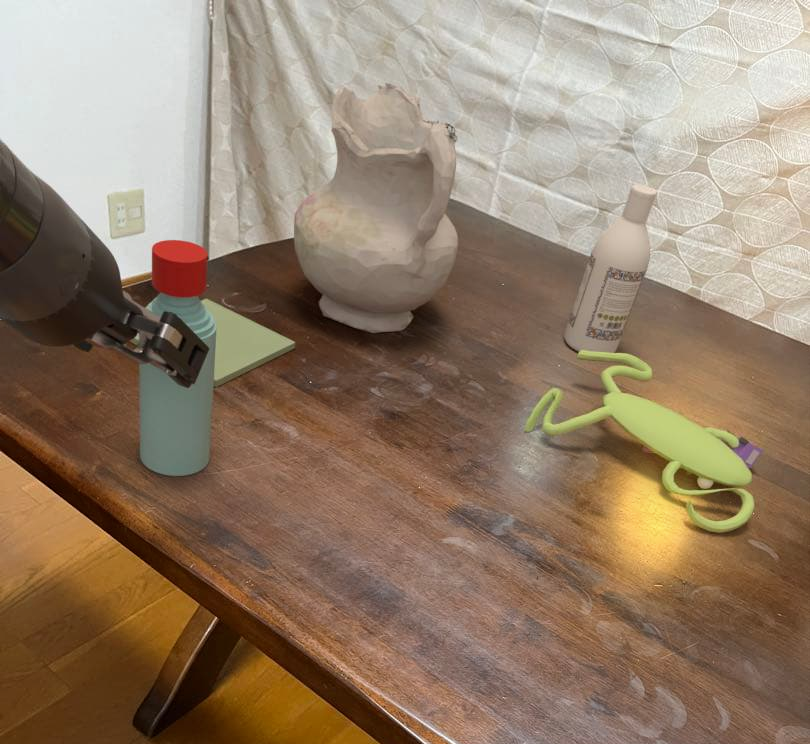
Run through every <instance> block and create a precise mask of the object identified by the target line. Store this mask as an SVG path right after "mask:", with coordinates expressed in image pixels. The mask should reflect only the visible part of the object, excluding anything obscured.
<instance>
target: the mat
mask: <svg viewBox="0 0 810 744" xmlns="http://www.w3.org/2000/svg"><path fill="white" fill-rule="evenodd" d="M200 301H201V302H202V303H203V304H204V306H205V307H206V308H207V309H208V310H209V312H210V313H211V314H212V315H213V317H214V321H215V322H216V325H217V330H216V348H215V367H214V385H213V388H218V387H219V386H221V385H223V384H226V383H227V382H230V381H232V380H234V379H236V378H238V377H240V376H241V375H244V374H246V373H248V372H250V371H252V370H254V369H256V368H258V367H260V366H262V365H264V364H266V363H268V362H270V361H273V360H274V359H277V358H279V357H280V356H282V355H284V354H287V353H288V352H291V351H292V350H294V349H296V341H294V340H292V339H291V338H288V337H286V336H284V335H282V334H280V333H278V332H276V331H274V330H272V329H270V328H267V327H265V326H264V325H261V324H260V323H257V322H255V321H254V320H251V319H249V318H247V317H245V316H242V315H241V314H239V313H238V312H235V311H233V310H231V309H229V308H227V307H225V306H223V305H220V304H219V303H216V302H215V301H213V300H211V299H208V298H204V299H202V300H200ZM138 341H139V333H137V336H136V337H135V338H134V339H132V340H130V341H129V342H128V343H131V344H133V345H135V346H137V344H138Z"/></svg>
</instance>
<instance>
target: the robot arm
mask: <svg viewBox="0 0 810 744" xmlns="http://www.w3.org/2000/svg"><path fill="white" fill-rule="evenodd" d="M122 284H123V283H122V277H121V272H120V268H119V265H118V262H117V260H116V258H115V255H114V254H113V253H112V252H111V250H110V248H109V247H108V246H107V245H106V244H105V243H104V242H103V241H102V239H100V238H99V236H98V235H97V234H96V232H94V231H93V230H92V229H91V228H90V227H89V226H88V225H87V224H86V222H85V221H84V220H83V219H82V218H81V217H80V216H79V215H78V214H77V213H76V211H75V210H74V209H73V208H72V207H71V206H70V205H69V204H68V203H67V201H66V200H65V199H64V198H63V197H62V196H61V195H60V194H59V193H58V192H57V191H56V190H55V189H54V188H53V187H52V186H51V185H49V184H48V183H47V182H46V181H45V180H44V179H42V178H41V177H40V176H38V175H37V174H36V173H34V172H33V171H32V170H31V169H29V168H28V167H27V166H26V164H25V163H23V161H22V160H21V159H20V158H19V156H17V154H15V152H13V150H11V148H10V147H9V146H8V145H7V144H6V143H5V142H4V141H3V140H2V138H1V137H0V320H1V321H2V322H4V323H5V324H7V325H8V326H9V327H11V328H12V329H14V330H15V331H16V332H18V333H19V334H21V335H22V336H24V338H27V339H28V340H30V341H32V342H34V343H36V344H39V345H43V346H48V347H67V346H74V347H75V348H76V349H78V350H80V351H83V352H86V353H89V352H91V351H92V348H93V346H94V347H96V348H101V349H107V350H109V351H111V352H112V353H114V354H117V355H119V356H120V357H122V358H124V359H126V360H128V361H130V362H131V363H133V364H137V365H139V364H148V363H150V364H152V365H153V366H155V367H157V368H159V369H161V370H163V371H164V373H166V374H167V375H168V376H169V377H170V378H172V379H173V380H174V381H175V382H176V383H177V384H178V385H180V386H183V387H186V388H189V387H190V386H191V384H194V385H195V382H196V380H197V377H198V375H199V373H200V370H201V368H202V365H203V363H204V361H205V358H206V356H207V354H208V351H209V349H210V348H209V347H208V346H207V345H206V344H205V343H204V342H203V341H202V340H201V339H200V338H199V337H198V336H197V335H196V334H195V333H194V332H193V331H192V330H191V329H190V328H189V327H188V326H187V325H186V324H185V323H184V322H183V321H182V320H181V319H180V318H179V317H178V316H177V315H176V314H174V313H172V312H166V311H164V312H163V314H162V316H161V317H159V316H158V315H156V314H154V313H153V312H151V311H149V310H148V309H146V308H145V306H143V305H141V304H140V303H138V302H136V301H134V300H133V298H132V296H131V294H130V293H128V292H127V291H125V290H124V289H123V285H122ZM137 333H139V334H141V337H140V339H139V341H138V344H137V345H135V347H134V349H131V348H130V347H128V346H126V344H127V343H130V342H129V341H130V340H132V339H134V338H135V337H136V336H137ZM155 354H157V355H159V356H160V357H161V358H162V359H161V358H159V357H158V356H156V355H155Z"/></svg>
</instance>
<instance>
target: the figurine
mask: <svg viewBox="0 0 810 744" xmlns="http://www.w3.org/2000/svg"><path fill="white" fill-rule="evenodd" d="M575 358H576V360H582V361H590V362H606V363H620V364H624V365H611V366H609V367H606V368H605V369H604V370H603V371H602V372H601V373H600V382H601V384H602V386H603V387H604V389H605V391H606V393H607V394H603V396H602V406H601V407H599V408H597V409H595V410H592V411H590V412H588V413H586V414H582V415H578V416H576V417H573V418H570V419H567V420H565V421H563V422H560V423H557V424H555V423H554V424H553V423H552V422H553V417H554V416H555V413H556V412H557V410H558V408H559V407H560V405H561V404H562V401H563V398H564V392H563V391H564V390H562V389H559V388H557V387H553V388H551V389H550V390H549V391H547V392H546V393H545V394H544V395H543V396H542V397H541V398H540V399H539V401H538V402H537V404H536V406H534V408H533V410H532V411H531V413H530V415H529V417H528V419H527V421H526V423H525V425H524V429H525V432H527V433H530V432H532V431H533V429H534V427H535V425H536V424H537V421H538V420H539V418H540V417H541V415H542V414H543V412H544V411H545V409H546V408H547V407H548V406H549V405H550V406H549V408H548V409H547V411H546V412H545V414H544V416H543V417H542V430H541V431H542V432H543V433H545V434H546V435H549V436H551V437H556V436H561V435H565V434H567V433H570V432H572V431H575V430H578V429H580V428H584V427H587V426H590V425H594V424H595V423H598V422H600V421H602V420H604V419H605V418H611V419H612V420H613V421H614V422H615V423H616V424H617V425H618V426H619V427H621V429H623V431H625V433H627V434H628V435H629V436H631V437H632V438H633V439H635V440H636V441H637V442H639V443H640V444H641V445H643V447H642V448H641V450H642V451H643V453H650V454H651V453H652V454H656V455H658V456H660V457H661V458H663V459H665V460H666V461H669V463H667V464H666V466H665V468H664V469H663V470H662V473H661V474H662V475H661V482H662V484H663V487H665V489H666V490H667V491H669V492H671V493H673V494H675V495H683V496H701V495H707V494H712V493H718V492H722V491H727V492H733V493H735V494H736V495H738V496H739V497H740V500H741V507H740V510H739V511H738V512H737V514H735V515H734V516H732V517H730V518H727V519H724V520H717V521H715V520H712V519H708V518H706V517H704V516H702V515H701V514H699V513H698V512H697V511H696V510H695V509H694V505H693V503H692V502H693V501H692V500H691V499H690V500H688V501H687V503H686V506H685V507H686V509H685V510H686V512H687V515H688V517H689V520H690V521H691V522H692V523H693V524H694V525H695V526H697V527H698V528H701V529H703V530H705V531H707V532H709V533H710V532H711V533H715V534H720V533H727V532H731V531H733V530H737V529H739V528H741V527H742V526H743V525H745V524H747V522H748V521H749V520H750V518H751V517H752V515H753V512H754V509H755V501H754V496H753V495H752V494H751V493H750V492H748V490H746V489H744V488H745V487H746V486H749V485H751V484H752V483H753V474H752V471H751V470H750V469H752V467H753V466H754V465H755V463H756V461H757V460H758V459H759V457H760V456H761V455H762V454H763V452H764V450H762V449H760V447H758V446H756V445H755V444H752V443H751V442H750V441H749V440H748V439H746V438H744V437H743V436H740V437H738V436H736V435H735V434H734V433H732V432H731V431H729V430H724V429H718V428H715V427H712V426H707V427H704V428H703V426H701V425H699V424H698V423H696V422H695V421H692V420H690V419H689V418H687V417H685V416H684V415H682V414H680V413H678V412H676V411H675V410H673V409H670V408H668V407H666V406H665V405H664V406H663V405H662V404H659V403H657V402H655V401H653V400H651V399H647V398H644V397H640V396H637V395H634V394H631V393H628V392H622V391H621V390H620V389H619V387H618V385H617V384H616V382H615V381H614V379H613V378H614V377H624V378H628V379H632V380H635V381H638V382H641V383H646V382H650V381H651V380H652V378H653V369H652V368H651V367H650V365H649V364H648V363H646V362H645V361H643V360H642V359H640V358H639V357H637V356H634V355H632V354H630V353H628V352H627V353H625V352H615V353H609V352H595V351H586V350H580V351H579V352H577V355H576V357H575ZM679 469H683V470H685V471H686V475H687V476H690V475H693V474H694V475H695V476H697V479H696V483H697V485H698V487H699V488H700V490H698V489H693V490H692V489H684V488H681V487H679V486H678V485H677V483H676V482H675V474H676V473H677V472H678V471H679ZM714 482H715V483H718V484H722V485H724V486H727V487H728V486H730V487H729V488H716V489H710V488H711V487H712V486H713V485H714ZM731 487H732V488H731ZM737 487H741V488H737Z"/></svg>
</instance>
